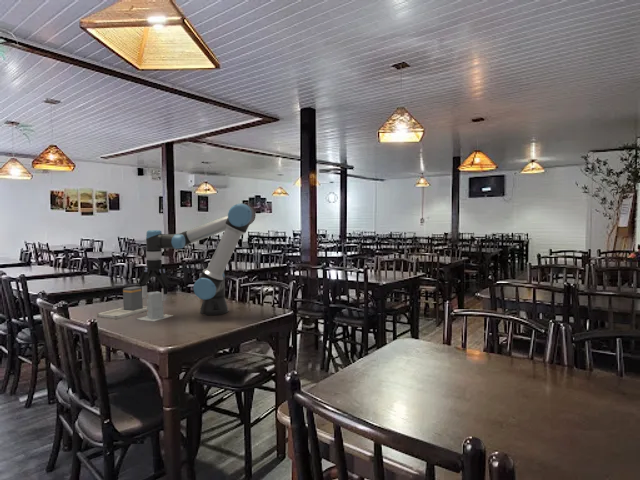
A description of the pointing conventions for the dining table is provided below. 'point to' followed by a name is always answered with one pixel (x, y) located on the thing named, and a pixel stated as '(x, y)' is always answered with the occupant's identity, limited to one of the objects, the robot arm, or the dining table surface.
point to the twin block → (132, 298)
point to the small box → (154, 305)
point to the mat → (154, 319)
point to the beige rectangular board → (120, 313)
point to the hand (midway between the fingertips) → (154, 299)
